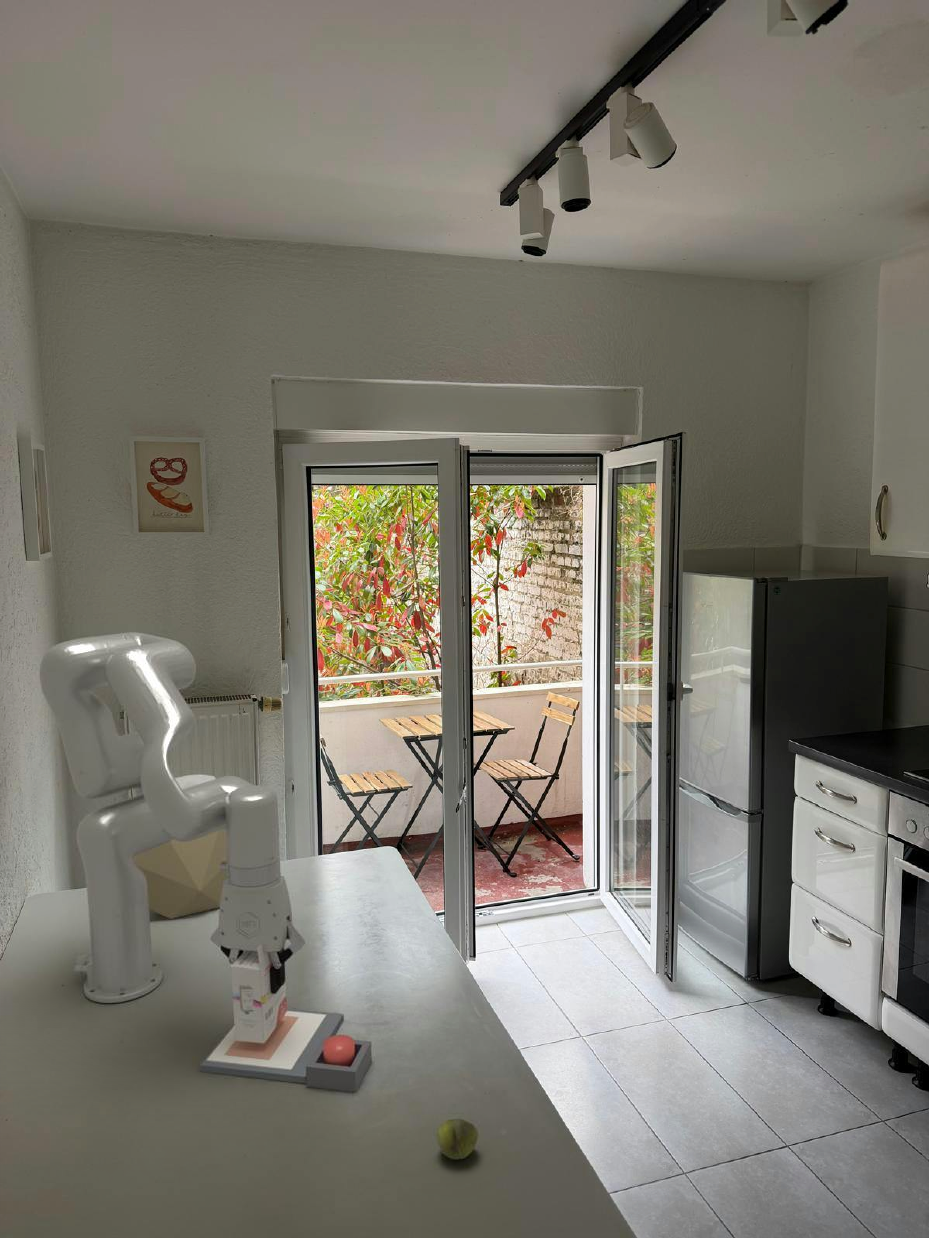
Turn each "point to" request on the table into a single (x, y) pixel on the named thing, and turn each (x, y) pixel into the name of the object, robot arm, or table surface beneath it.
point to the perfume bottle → (185, 869)
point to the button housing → (339, 1069)
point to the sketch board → (275, 1048)
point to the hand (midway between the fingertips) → (259, 985)
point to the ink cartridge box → (255, 997)
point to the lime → (457, 1138)
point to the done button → (339, 1050)
